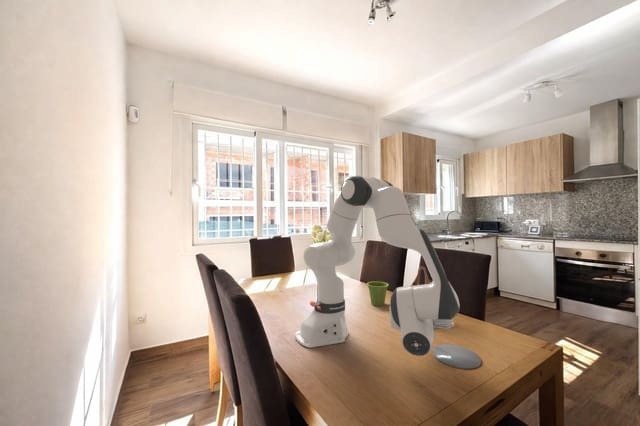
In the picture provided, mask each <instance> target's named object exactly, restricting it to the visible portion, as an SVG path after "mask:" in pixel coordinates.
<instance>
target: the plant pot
mask: <svg viewBox="0 0 640 426" xmlns="http://www.w3.org/2000/svg"><path fill="white" fill-rule="evenodd" d="M366 284H367V287H368V291H369V297H370V303H371V305H373V306H378V307H381V306H385V302H386V295H387V291H388V287H389V283H387V282H384V281H369V282H367V283H366Z"/></svg>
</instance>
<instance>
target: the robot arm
mask: <svg viewBox="0 0 640 426" xmlns="http://www.w3.org/2000/svg"><path fill="white" fill-rule="evenodd" d="M363 208H365V209H366V208H367V209H370V208H371V209H373V211H374V217H375V222H376V228H377V230H378V234H379V237H380V238H381V239H382V241H384V242H385V243H386V244H388V245H390V246H393V247H397V248H402V249H408V250H412V251H414V252H416V253H419V254H420V256H421V257H422V258H423V260H424V262H425V263H424V264H425V265H426V267H427V270H428V272H429V274H430V277H431V279H432V281H433V282H432V283H430V284H425V283H424V284H419V285H416V286H411V285H405V286H398V287H396V288H395V289H394V290H393V292H392V294H391V296H390V303H389V304H390V305H389V321H390V325H391V328H392V329H393V330H394V329H395V330H397V331H400V335H401V338H400V339H401V344H402V347H403V348H404V349H405V351H406V352H408V353H409V354H411V355H413V356H418V357H421V356H425V355H428V353H430V352H431V349H432V348H433V344H434V333H435V332H434V328H435V329H441V330H443V329H444V330H449V329H450V328H453V327H455V323H454V322H453V318H455V317H456V316H457V315H458V313H459V312H460V311H461V310H460V301H459V297H458V294H457V293H456V291H455V289H454V288H453V286H452V285H451V283H450V281H449V280H448V278H447V275H446V272H445V270H444V268H443V267H444V266H442V263H441V261H440V259H439V256H438V255H437V252H436V249H435V247H434V246H433V244H432V242H431V240H430V237H429V235H428V234H427V232H426V231H425V230H424V229H421V228H419V227H418V226H417V225H416V224H415V223H414V221H413V219H412V216H411V211H410V208H409V204H408V202H407V199H406V197H405V195H404V193H403V191H402V190H401V188H399V187H397V186H394V185H393V184H392V183H390V182H389V181H387V180H383V179H380V178H376V177H368V176H361V175H351V176H347V177H346V178H345V179H344V181H343V182H342V184H341V187H340V191H339V193H338V195H337V197H336V199H335V201H334V203H333V206H332V208H331V211H330V213H329V214H330V215H329V218H328V220H327V223H326V229H327V231H328V233H329V234H330V239H329V240H328V241H321V242H315V243H313V244H310V245H308V246H307V247H306V248H304V249H305V250H304V252H303V261H304V265H305V266H306V267H308V269H309V270H311V271H312V273H313V274H314V276H315V279H316V280H315V281H316V284H317V300H316V301H314V300H311V301H310V302H309V305H310V306H311V307H314V309H312V310H311V312H309V314H308V315H307V316H305V318H303V319H302V321H301V323H300V330H297V331H296V332H295V335H294V338H295V339H296V341H297V342H298V343H299V344H300V345H301V346H304V347H306V348H316V347H322V346H323V347H324V346H330V345H335V344H336V345H337V344H342V343H345V342H346V338H347V337H348V335H349V330H348V326H347V322H346V315H345V312H346V299H345V296H344V295H345V293H344V292H345V290H344V288H345V287H344V281H343V279H342V278H341V277H339V276H338V275H337V272H336V267H340V266H344V265H346V264H348V263H350V262H352V261H353V260H354V257H355V254H356V252H355V247H354V245H353V244H352V240H353V238H352V237H353V233H354V230H355V227H356V224H357V221H358V219H359V216H360V213H361V211H362V209H363Z"/></svg>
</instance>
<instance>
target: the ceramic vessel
mask: <svg viewBox="0 0 640 426" xmlns="http://www.w3.org/2000/svg"><path fill="white" fill-rule="evenodd" d="M422 270H423V271H424V273H423V274H424V285H425V284H430V283H432V282H433V280H430V279H429V275H428V272H427V269H426V267H425V266H420V267H419V268H418V270H417V274H416V276H415V278H414V281H413V282H412V283H411V285H410V286H416V285H420V278H421V277H420V276H421V272H422Z"/></svg>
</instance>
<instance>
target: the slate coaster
mask: <svg viewBox="0 0 640 426" xmlns="http://www.w3.org/2000/svg"><path fill="white" fill-rule="evenodd" d="M432 354H433V357H434V358H435V359H436V360H437V361H439V362H440V363H442V364H444V365H447V366H449V367H451V368H452V367H453V368H457V369H461V370H462V369H464V370H474V369H476V368H479V367H480V366H481V365H482V358H481V357H480V356H479V354H478V353H476V352H474V351H473V350H471V349H469V348H466V347H463V346H460V345H455V344H439V345H437V346H434V347H433V349H432Z"/></svg>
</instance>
